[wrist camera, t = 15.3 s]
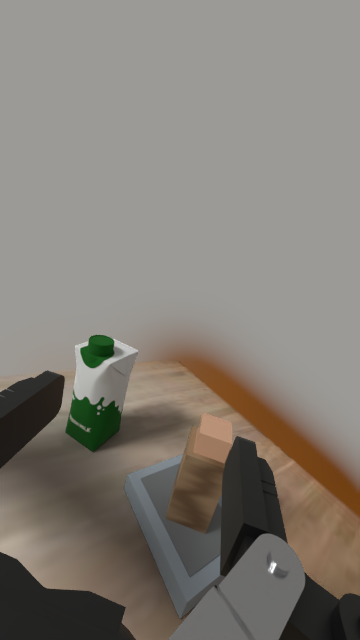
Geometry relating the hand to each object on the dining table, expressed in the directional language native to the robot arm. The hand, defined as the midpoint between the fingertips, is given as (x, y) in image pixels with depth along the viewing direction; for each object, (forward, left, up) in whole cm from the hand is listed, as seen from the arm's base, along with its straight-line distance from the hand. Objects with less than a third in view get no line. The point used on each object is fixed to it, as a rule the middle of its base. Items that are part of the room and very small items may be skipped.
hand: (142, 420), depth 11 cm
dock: (-9, +18, -30) cm, 36 cm away
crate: (-9, +18, -27) cm, 33 cm away
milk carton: (-30, +11, -30) cm, 44 cm away
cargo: (-9, +18, -16) cm, 25 cm away
